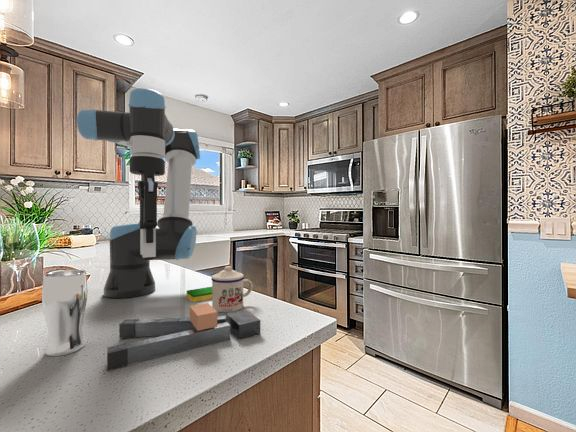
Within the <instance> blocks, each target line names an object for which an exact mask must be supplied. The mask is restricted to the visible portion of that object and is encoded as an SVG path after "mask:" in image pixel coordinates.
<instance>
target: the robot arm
mask: <svg viewBox="0 0 576 432" xmlns="http://www.w3.org/2000/svg"><path fill="white" fill-rule="evenodd" d="M128 99H129V103H128V107H129V110H128V112H126V111H125V112H124V111H123V112H122V111H111V110H110V111H109V110H102V109H101V110H99V109H81V110H80V111H78V113H77V116H76V128H77V130H78V133H79V134H80V136H81V137H82V138H83V139H86V140H93V141H105V142H110V143H114V144H118V145H120V146H124V147H125V146H126V147H128V148H129V155H131V156H130V158H129V172H130V173H131V174H133V175H139V176H141V178H140V180H141V181H139V180H138V182H137V189H138V200H139V222H137V223H130V224H121V225H115V226H112V227H111V229H110V232H109V239H108V241H109V272H108V275H107V278H106V281H105V283H104V286H103V296H104V297H106V298H109V299H127V298H134V297H141V296H145V295H148V294H150V293H152V292H154V291H155V290H156V281H155V278H154V276H153V273H152V271H151V268H150V267H151V266H150V263H151V262H150V261H164V260H165V261H166V260H167V261H169V260H171V261H172V260H173V261H174V260H176V261H179V260H187V259H189V258H191V257H192V256H193V254H194V251H195V248H196V247H195V246H196V242H197V233H198V232H197V226H195V225H194V224H193V221H192V219H190V217H189V213H190V202H191V201H190V198H191V186H192V185H191V183H192V181H191V180H192V167H193V166H195V164H196V163H197V160H199V159H201V154H200V153H201V152H200V146H199V145H200V143H199V136H198V132H197V131H196V130H195V129H194V130H193V129H187V128H185V129H179V128H174V126H173V124H172V123H171V121H170V120H169V119H168V117H167V115H166V104H165V101H166V100H165V97H164V95H163V94H162V93H160V92H159V91H157V90H153V89H150V88H143V87H142V88H139V87H138V88H135V89H132V90H131V91H130V92H129V98H128ZM164 159H165V160H164ZM165 161H166V162H165ZM166 163H168V164H167V165H168V166H167V176H166V185H165V195H164V204H163V213H162V216H161V217H160V218H158V204H157V203H158V189H159V183H158V181H156V180H155V177H160V176H164V175H165V174H166Z"/></svg>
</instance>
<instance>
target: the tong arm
mask: <svg viewBox="0 0 576 432" xmlns="http://www.w3.org/2000/svg"><path fill="white" fill-rule="evenodd" d="M225 322H226V315H217V324H221V323H225ZM118 328H119V330H118V331H119V332H118V333H119V337H118V338H119V339H130V338H132V339H133V338H139V337H160V336H165V335H169V334H174V333H179V332H183V331H188V330H193V329H196V328H195V327H194V325H193V324H192V322H191V321H190V316H189V317H187V316H186V317H169V318H168V317H164V318H163V317H162V318H145V319H144V318H143V319H142V318H130V319H129V318H128V319H124V320H122V321H121V322H120V323H119V327H118Z"/></svg>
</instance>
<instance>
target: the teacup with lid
mask: <svg viewBox="0 0 576 432" xmlns="http://www.w3.org/2000/svg"><path fill="white" fill-rule="evenodd" d="M211 283H212V284H211V285H212V286H211V287H212V299H211V300H212V301H211V302H212V303H211V306H212V307H213V308H214V309H215V310H216V311H217V313H225V314H226V313H230V312H235V311H240V310H242V309H243V308H244V298H245V297H248V296H249V295H250V294H251V292H252V290H253V282H252V281H251V280H250V279H247V278H246V279H245V275H244V274H243V273H242V272H238V271H236V270H234V269H232V266H231V265H228V266H227V265H226V266H225V267H224V269H223V270H220V271H219V272H217V273H215V274H213V275H212V277H211ZM244 283H248V289H247V292H245V293H244Z"/></svg>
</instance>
